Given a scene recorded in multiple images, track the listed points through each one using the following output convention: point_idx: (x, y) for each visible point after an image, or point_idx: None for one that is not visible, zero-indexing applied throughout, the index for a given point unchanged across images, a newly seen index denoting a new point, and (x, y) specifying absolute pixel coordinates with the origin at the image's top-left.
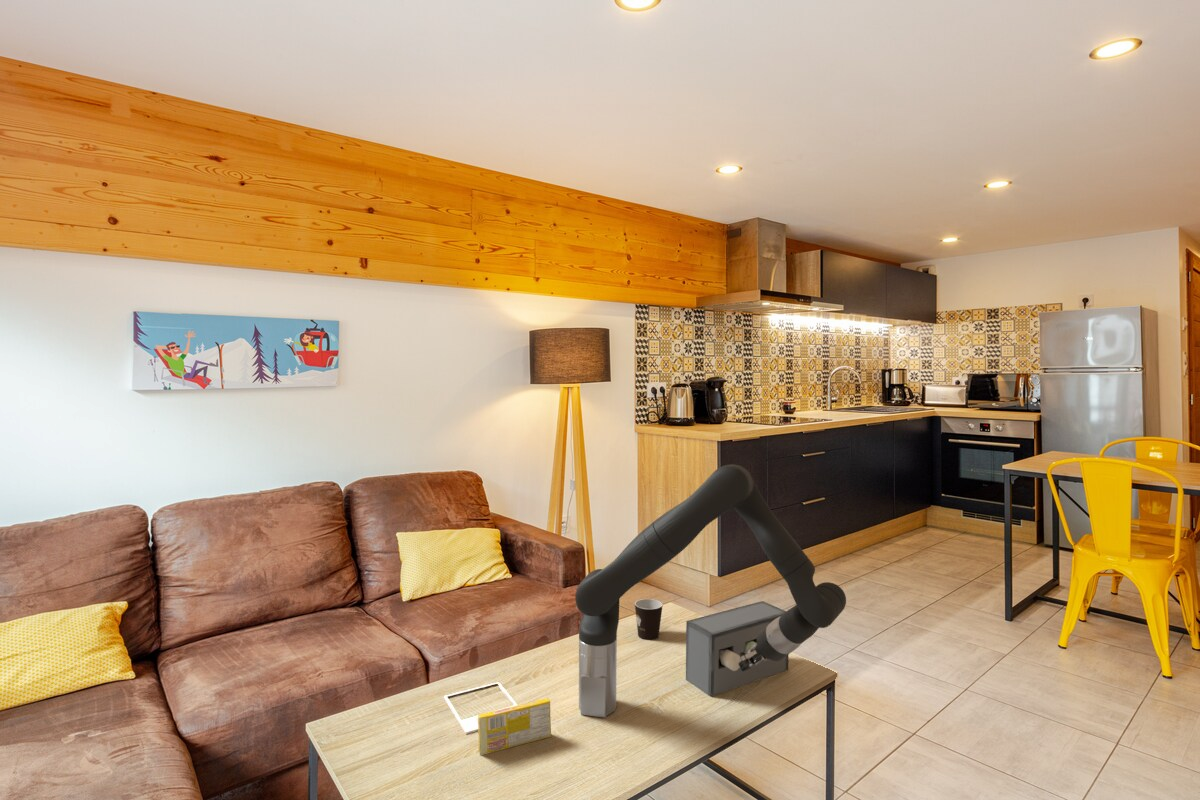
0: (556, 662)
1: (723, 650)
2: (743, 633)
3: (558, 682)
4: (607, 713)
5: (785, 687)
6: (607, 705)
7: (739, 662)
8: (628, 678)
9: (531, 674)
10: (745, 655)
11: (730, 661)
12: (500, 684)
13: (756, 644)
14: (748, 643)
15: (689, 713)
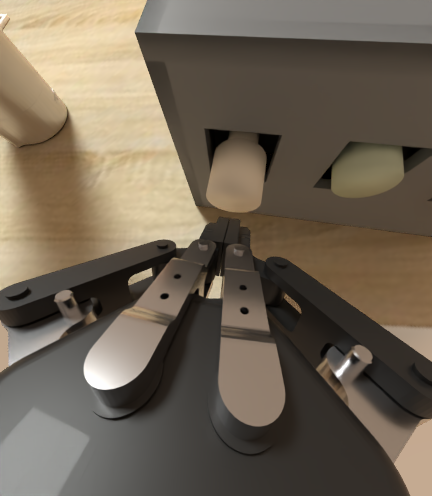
0: (102, 10)
1: (248, 132)
2: (369, 99)
3: (60, 49)
4: (23, 142)
5: (363, 282)
6: (7, 130)
7: (218, 218)
8: (140, 88)
9: (54, 19)
10: (11, 334)
11: (207, 191)
12: (2, 19)
13: (87, 381)
14: (366, 150)
15: (119, 218)
